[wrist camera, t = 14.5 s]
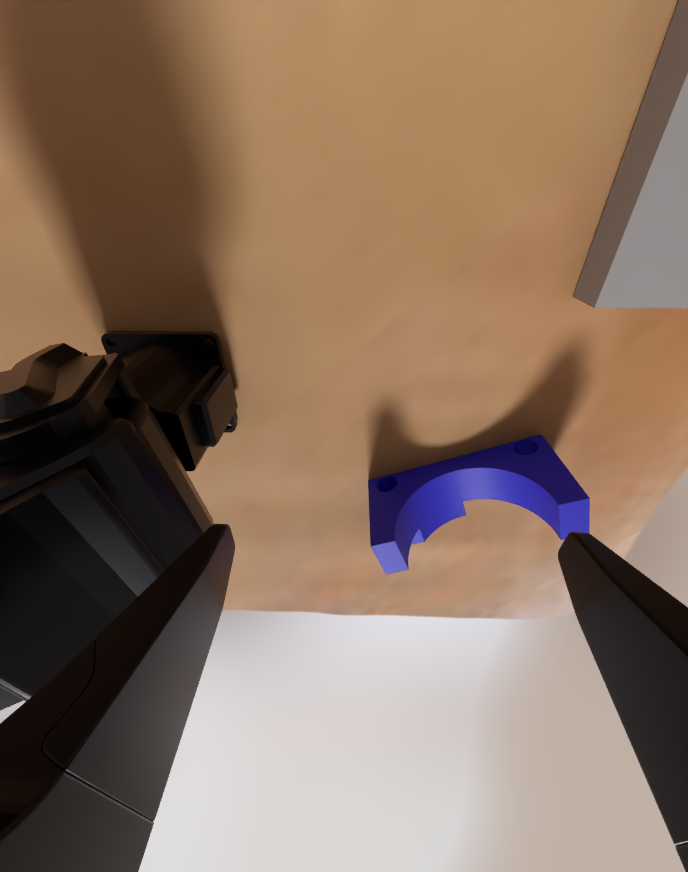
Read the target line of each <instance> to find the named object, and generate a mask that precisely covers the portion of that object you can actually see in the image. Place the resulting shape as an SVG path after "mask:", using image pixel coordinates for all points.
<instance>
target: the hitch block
mask: <svg viewBox="0 0 688 872" xmlns="http://www.w3.org/2000/svg"><path fill="white" fill-rule="evenodd" d="M573 297H574V298H576V299H578V300H580V301H582V302H584V303H586V304H588V305H590V306H592V307H594V308H688V0H678V3H677V6H676V9H675V12H674V15H673V17H672V20H671V23H670V26H669V29H668V31H667V34H666V37H665V40H664V43H663V45H662V48H661V51H660V54H659V57H658V59H657V62H656V65H655V68H654V71H653V73H652V76H651V79H650V82H649V85H648V88H647V90H646V93H645V96H644V99H643V102H642V104H641V107H640V110H639V113H638V116H637V118H636V121H635V124H634V127H633V130H632V132H631V135H630V138H629V141H628V144H627V147H626V149H625V152H624V155H623V158H622V161H621V163H620V166H619V169H618V172H617V175H616V177H615V180H614V183H613V186H612V189H611V191H610V194H609V197H608V200H607V203H606V205H605V208H604V211H603V214H602V217H601V220H600V222H599V225H598V228H597V231H596V234H595V236H594V239H593V242H592V245H591V248H590V250H589V253H588V256H587V259H586V262H585V264H584V267H583V270H582V273H581V276H580V278H579V281H578V284H577V287H576V290H575V293H574V295H573Z"/></svg>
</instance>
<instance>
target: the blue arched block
mask: <svg viewBox="0 0 688 872" xmlns="http://www.w3.org/2000/svg"><path fill="white" fill-rule="evenodd" d="M368 488H369V514H370V540H371V548H372V550H373V551H374V553H375V555H376V557H377V559H378V561H379V563H380V564H381V566H382V568H383V570H384V572H385V574H390V573H395V572H400V571H405V570H408V555H409V549H410V546H411V544H416V543H420V542H425V540H426V539H427V538H428V537H429V536H430V535H431V534H432V533H433V532H434V531H435V530H436V529H437V528H439V527H440V526H442V525H443V524H445V523H447V522H449V521H450V520H453V519H455V518H458V517H461V516H465V515H466V512H465V508H464V505H463V501H467V500H474V499H494V500H501V501H506V502H510V503H513V504H516V505H519V506H521V507H524V508H526V509H528V510H530V511H532V512H533V513H535V514H536V515H538V516H539V517H541V518H542V519H543V520H544V521H546V522H547V523H548V524H549V525H550V526H551V527H552V528H553V530H554V531H555V532H556V533H557V535H558V536H559V538H560V539H561V540H562V539H565V538H566V537H567V535H568V534H569V533H570V532H586V533H589V507H590V498H589V497H588V496H587V494H586V493H585V492H584V490H583V489H582V488H581V486H580V485H579V484H578V482H577V481H576V480H575V478H574V477H573V476H572V474H571V473H570V472H569V470H568V469H567V468H566V466H565V465H564V464H563V462H562V461H561V460H560V458H559V457H558V456H557V454H556V453H555V452H554V450H553V449H552V448H551V446H550V445H549V444H548V442H547V441H546V440H545V438H544V437H543V436H542V435H538V436H534V437H530V438H527V439H523V440H519V441H515V442H512V443H508V444H504V445H500V446H497V447H493V448H489V449H485V450H482V451H478V452H474V453H470V454H467V455H463V456H459V457H455V458H452V459H448V460H444V461H440V462H437V463H433V464H429V465H425V466H422V467H418V468H414V469H410V470H406V471H403V472H399V473H395V474H391V475H388V476H384V477H380V478H376V479H373V480H369V481H368Z"/></svg>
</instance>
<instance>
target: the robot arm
mask: <svg viewBox="0 0 688 872" xmlns="http://www.w3.org/2000/svg"><path fill="white" fill-rule="evenodd" d="M110 338H111V339H113V340H114V341H115V343H116V344H114V343H112V342H111V340H110ZM206 339H210V340H211V341H212V342H213V345H210V344H208V343H207V341H206ZM101 340H102V344H103V346H104V348H105V351H106V353H107V354H106V355H98V356H88V355H87V353H82V352H80V351H78V350H76V349H74V348H72V347H70V346H69V345H67V344H65V343H61V344H55V345H50V346H48V347H46V348H44V349H42V350H40V351H38V352H36V353H34V354H32V355H30V356H29V357H27V358H25V359H23V360H22V361H20V362H19V363H17V364H16V365H15V366H14V367H13V368H12V369H11V370H8V371H4V372H1V373H0V710H2V709H4V708H7V707H9V706H12V705H14V704H16V703H19V702H21V701H23V700H24V701H26V702H25V703H24V704H23V705H22V706H21V707H20V708H18V709H17V710H16V711H15V712H14V713H12V714H11V715H10V716H9V717H8V718H6V719H5V720H4V721H3V722H2V723H1V724H0V872H138V871H139V868H140V864H141V861H142V858H143V855H144V852H145V849H146V846H147V843H148V840H149V837H150V833H151V830H152V827H153V824H154V822H153V821H154V820H155V817H156V814H157V811H158V808H159V805H160V801H161V799H162V796H163V792H164V789H165V786H166V783H167V780H168V777H169V774H170V771H171V767H172V764H173V761H174V758H175V754H176V752H177V749H178V746H179V743H180V739H181V737H182V733H183V730H184V727H185V723H186V721H187V717H188V715H189V712H190V709H191V705H192V702H193V699H194V696H195V693H196V690H197V687H198V684H199V681H200V678H201V674H202V671H203V668H204V665H205V662H206V659H207V655H208V653H209V649H210V646H211V643H212V640H213V637H214V634H215V630H216V628H217V624H218V622H219V618H220V615H221V612H222V608H223V605H224V600H225V596H226V591H227V586H228V581H229V576H230V571H231V566H232V562H233V557H234V552H235V543H234V539H233V536H232V532H231V529H230V526H229V525H228V524H214V523H213V520H212V517H211V515H210V514H209V512H208V510H207V508H206V506H205V505H204V503H203V501H202V499H201V498H200V496H199V494H198V492H197V491H196V489H195V487H194V485H193V483H192V482H191V480H190V478H189V476H188V475H187V473H186V471H194V470H195V469H196V467H197V465H198V463H199V462H200V460H201V458H202V456H203V455H204V453H205V451H206V450H207V448H208V447H214V446H215V445H216V444H217V443H218V442H219V440H220V438H221V436H222V434H223V433H224V432H233V431H234V430H235V429H236V427H237V419H236V415H235V411H236V409H237V402H236V397H235V392H234V387H233V382H232V378H231V373H230V371H229V370H228V369H227V368H225V363H224V359H223V354H222V349H221V345H220V340H219V338H218V336H217V335H216V334H214V333H212V332H155V331H110V332H107V333H106V334H104V335H103V336H102V338H101ZM229 423H230V424H231V425H232V426H228V424H229ZM558 559H559V563H560V566H561V569H562V572H563V576H564V579H565V582H566V585H567V588H568V591H569V595H570V598H571V601H572V604H573V607H574V610H575V613H576V616H577V619H578V621H579V624H580V626H581V629H582V631H583V633H584V635H585V638H586V640H587V642H588V645H589V647H590V649H591V652H592V654H593V656H594V659H595V661H596V663H597V666H598V668H599V670H600V673H601V675H602V677H603V680H604V682H605V684H606V687H607V689H608V691H609V694H610V696H611V698H612V701H613V703H614V705H615V708H616V710H617V712H618V715H619V717H620V719H621V722H622V724H623V726H624V728H625V731H626V733H627V735H628V738H629V740H630V742H631V745H632V747H633V749H634V752H635V754H636V756H637V759H638V761H639V763H640V766H641V768H642V770H643V772H644V775H645V777H646V780H647V782H648V784H649V787H650V789H651V791H652V794H653V796H654V798H655V800H656V803H657V805H658V808H659V810H660V812H661V815H662V817H663V819H664V822H665V824H666V826H667V828H668V831H669V833H670V835H671V838H672V840H673V842H674V844H675V845H676V850H677V852H678V855H679V857H680V859H681V862H682V864H683V866H684V869H685V871H686V872H688V607H686V606H685V605H684V604H682V603H681V602H680V601H678V600H677V599H676V598H674V597H673V596H672V595H670V594H669V593H668V592H666V591H665V590H664V589H662V588H661V587H660V586H658V585H657V584H656V583H654V582H653V581H652V580H650V579H649V578H648V577H646V576H645V575H644V574H642V573H641V572H640V571H639V570H637V569H636V568H634V567H633V566H632V565H630V564H629V563H628V562H627V561H625V560H624V559H623V558H621V557H620V556H619V555H617V554H616V553H615V552H613V551H612V550H611V549H609V548H608V547H607V546H605V545H604V544H603V543H601V542H600V541H599V540H597V539H596V538H595V537H593V536H592V535H590V534H589V533H586V532H570V533H569V534H568V535H567V537H566V538H565V540H564V542H563V544H562V546H561V547H560V549H559V552H558Z"/></svg>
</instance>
